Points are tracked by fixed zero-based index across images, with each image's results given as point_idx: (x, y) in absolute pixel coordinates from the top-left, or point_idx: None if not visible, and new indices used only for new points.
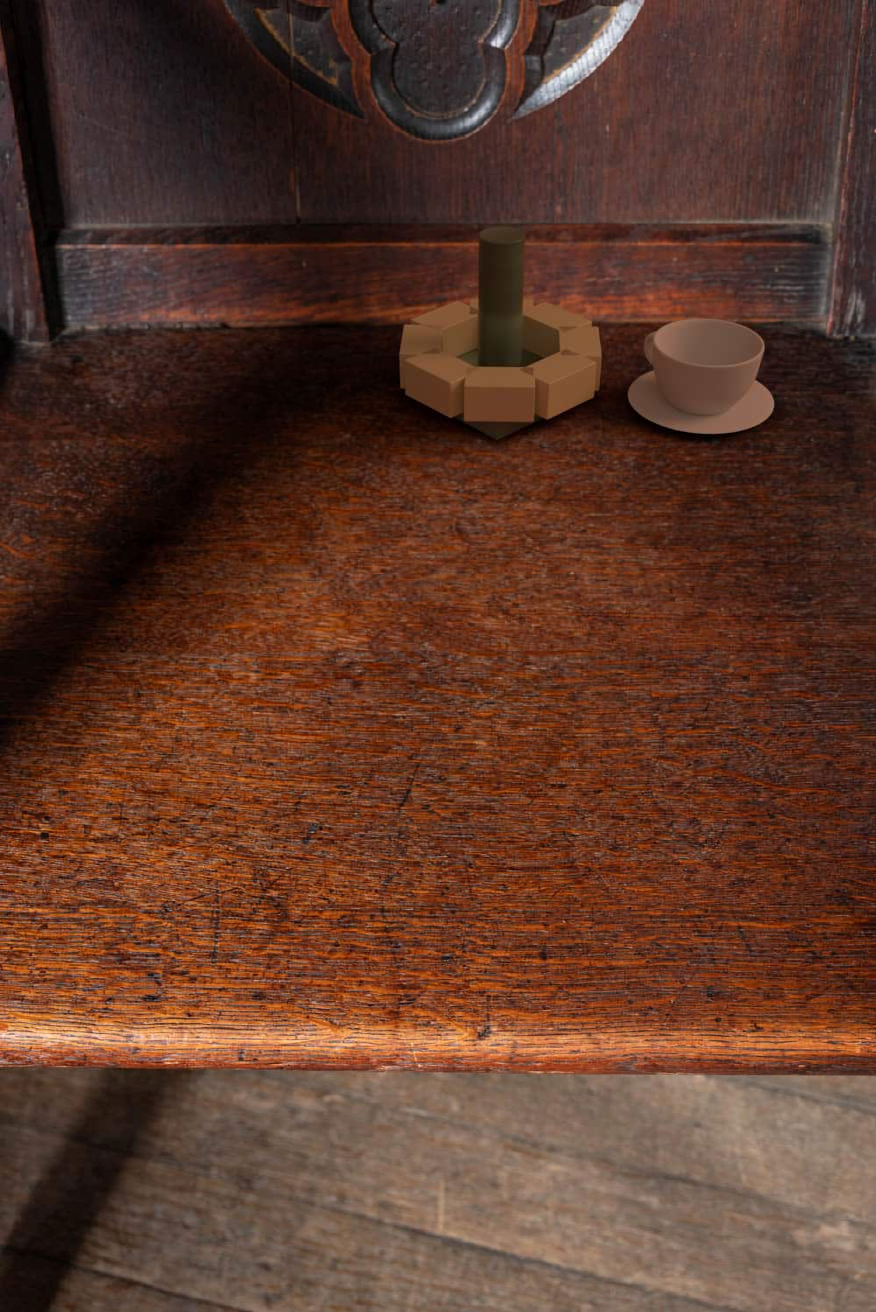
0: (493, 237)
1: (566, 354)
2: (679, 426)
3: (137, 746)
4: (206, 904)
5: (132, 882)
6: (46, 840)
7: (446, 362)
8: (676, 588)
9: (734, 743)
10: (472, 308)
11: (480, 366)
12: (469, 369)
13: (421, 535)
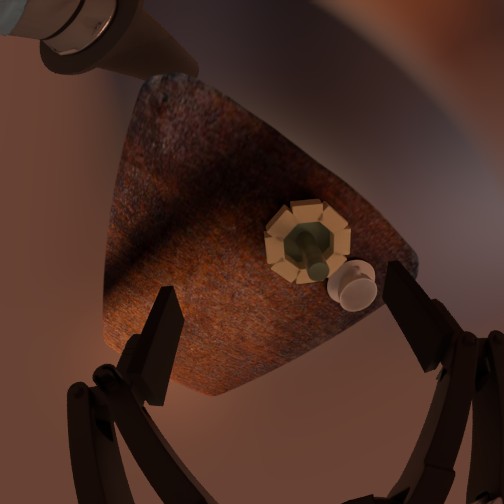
0: (313, 272)
1: None
2: (330, 292)
3: (126, 314)
4: None
5: (121, 337)
6: (108, 323)
7: (277, 250)
8: (265, 339)
9: (236, 369)
10: (322, 214)
11: (297, 241)
12: (281, 259)
13: (221, 291)
